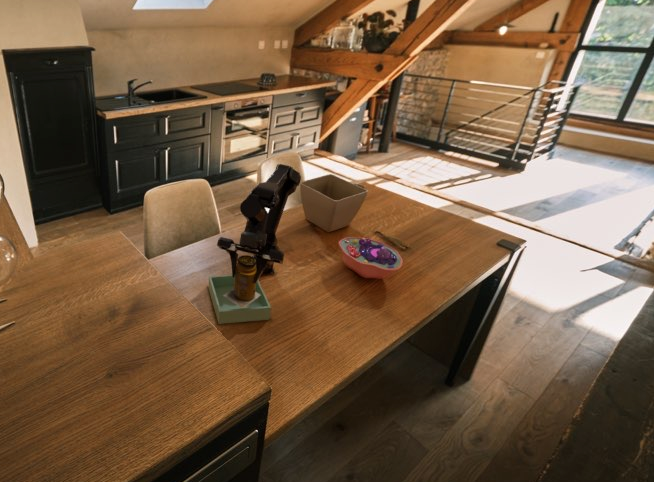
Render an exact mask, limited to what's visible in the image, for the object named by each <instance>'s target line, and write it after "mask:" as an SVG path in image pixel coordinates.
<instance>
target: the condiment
mask: <svg viewBox="0 0 654 482" xmlns="http://www.w3.org/2000/svg"><path fill="white" fill-rule="evenodd" d="M256 273H257V268H256V260H255V258H253V257H252V255H247V254H246V255H245V254H243V255H240V256H238V260H237V266H236V270H235V285H234V289H232V290H230V291H229V292H228V293H226V294H224V295H223V296H225V297H226V298H227V299H229V300H230V301H232V302H233V303H234V304H237V305H238V306H240V307H241V308H245V307H246V306H247V305H249V304H250V303H251V302H253V301H254V300H255V299H257V298H258V297H259V296H260V295H261V294H259V293H257V292H255V289H256V283H254V281H255V276H256Z"/></svg>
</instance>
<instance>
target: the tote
mask: <svg viewBox="0 0 654 482" xmlns="http://www.w3.org/2000/svg"><path fill="white" fill-rule="evenodd" d="M234 285H235V277H234V278H233V277H232V274H226V275H209V276H208V286H207V287H208V291H209V295H210V298H211V302H212V306H213V309H214V312H215V316H216V320H217V322H218V325H221V324H234V323H245V322H257V321H269V320H270V318H271V313H272V312H271V311H272V306H271V304H270V302H269V300H268V297H267V296H266V293H265V291H264V290H263V288H262V285H261V283H260V280H258V281H257V282H256V289H255V292H257V293H259V294H261V295H260V296H259V297H258V298H257V299H255V300H254V301H253V302H251V303H250V304H249V305H247V306H246V307H245V308H241V307H240V306H238V305H237V304H234V303H233V302H232V301H230V300H229V299H227V298H226V297H225V296H223V295H224V294H226V293H228V292H229V291H230V290H232V289H234Z"/></svg>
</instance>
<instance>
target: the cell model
mask: <svg viewBox="0 0 654 482" xmlns="http://www.w3.org/2000/svg"><path fill="white" fill-rule="evenodd" d="M338 246H339V250H340V253H341V257H342V262H343V263H344V266H346V267H347V268H348V269H349V270H351V271H353V272H354V273H356V274H357V275H358V276H360V277H362V278H364V279H377V280H381V279H384V278H386V277H388V276H391V275H392V274H393V273H395V272H396V271H398V270H400V269H401V267H402V266H403V263H404V260H403V258H402V256H401V255H400V253H399V252H398V250H396V249H395V248H394V247H392V246H390V245H388V244H386V243H384V242H382V241H379V240H377V239H373V238H369V237H362V236H361V237H359V236H346V237H344V238H342V239H340V240H338Z"/></svg>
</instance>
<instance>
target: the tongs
mask: <svg viewBox="0 0 654 482" xmlns="http://www.w3.org/2000/svg"><path fill="white" fill-rule="evenodd" d="M374 233H375V234H378V235H379V236H382V237H383V238H385V239H387V241H390V242H391V243H392V244H393V245H396V246H397V247H399V248H400V249H402V250H404V251H405V250H406V248H407V249H408V248H409V247H410V245H409V243H405V242H404V241H402V240H400V239H399V238H397V237H394V236H390V235H387V234H385V233H382V232H381V231H378V230H375V231H374ZM401 244H402V245H403V246H402V245H401Z"/></svg>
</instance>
